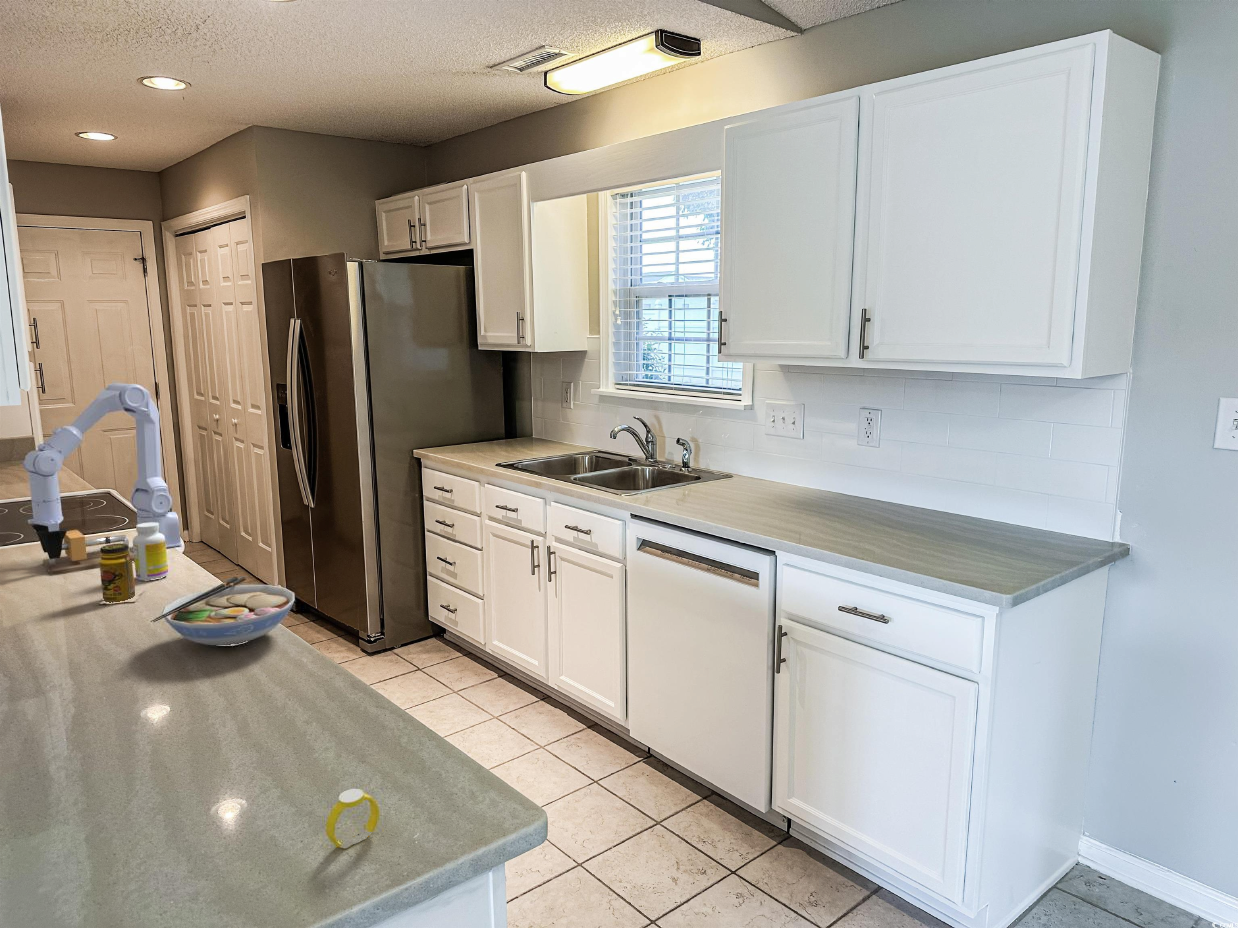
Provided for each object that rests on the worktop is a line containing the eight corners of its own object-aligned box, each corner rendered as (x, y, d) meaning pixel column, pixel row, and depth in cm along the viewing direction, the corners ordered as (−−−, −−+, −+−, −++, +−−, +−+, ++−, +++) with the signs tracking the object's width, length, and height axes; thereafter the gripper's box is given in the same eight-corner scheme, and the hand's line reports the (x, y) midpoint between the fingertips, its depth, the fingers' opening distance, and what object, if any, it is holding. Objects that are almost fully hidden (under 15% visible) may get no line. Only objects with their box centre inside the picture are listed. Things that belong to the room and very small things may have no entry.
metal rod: (128, 551, 215) (126, 533, 214) (129, 553, 214) (128, 534, 213) (49, 564, 204) (47, 544, 203) (50, 565, 202) (48, 545, 202)
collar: (79, 551, 211) (77, 529, 210) (87, 558, 204) (84, 536, 203) (65, 553, 209) (62, 531, 208) (72, 561, 202) (70, 538, 201)
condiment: (96, 606, 177) (91, 551, 175) (107, 593, 185) (102, 541, 183) (135, 602, 179) (130, 548, 177) (144, 591, 187) (140, 538, 185)
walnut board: (125, 550, 220) (125, 547, 219) (138, 561, 210) (137, 557, 210) (43, 563, 208) (42, 559, 207) (52, 575, 198) (52, 571, 198)
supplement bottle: (174, 574, 200) (170, 521, 198) (156, 582, 193) (152, 528, 191) (148, 573, 200) (143, 520, 198) (129, 581, 194) (124, 527, 192)
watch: (337, 860, 94) (331, 813, 93) (325, 849, 96) (319, 803, 95) (384, 833, 98) (379, 788, 97) (372, 823, 100) (366, 779, 99)
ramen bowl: (245, 671, 144) (242, 626, 143) (130, 660, 148) (126, 616, 147) (324, 622, 168) (321, 583, 167) (223, 613, 173) (220, 575, 171)
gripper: (21, 497, 203) (27, 551, 206) (30, 507, 193) (37, 564, 195) (55, 493, 208) (61, 546, 210) (66, 503, 198) (72, 558, 200)
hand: (52, 554), depth 203 cm, fingers open, 7 cm apart
